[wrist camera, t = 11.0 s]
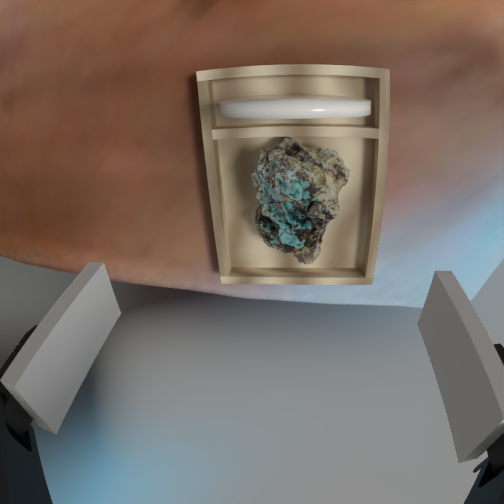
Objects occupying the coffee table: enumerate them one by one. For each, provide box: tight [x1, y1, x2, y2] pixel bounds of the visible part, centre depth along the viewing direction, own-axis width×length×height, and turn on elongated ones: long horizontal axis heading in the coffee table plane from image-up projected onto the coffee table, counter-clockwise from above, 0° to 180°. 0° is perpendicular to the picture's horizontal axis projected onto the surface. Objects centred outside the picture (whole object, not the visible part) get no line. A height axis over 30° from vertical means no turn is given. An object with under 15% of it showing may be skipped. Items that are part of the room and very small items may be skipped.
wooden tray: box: [196, 64, 390, 285], centre depth 33 cm, size 18×24×3 cm
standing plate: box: [219, 94, 371, 119], centre depth 24 cm, size 12×1×12 cm, turn 94°
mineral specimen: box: [251, 137, 350, 265], centre depth 32 cm, size 12×9×8 cm
